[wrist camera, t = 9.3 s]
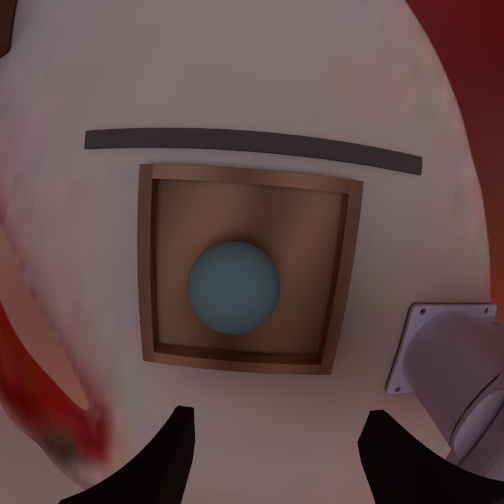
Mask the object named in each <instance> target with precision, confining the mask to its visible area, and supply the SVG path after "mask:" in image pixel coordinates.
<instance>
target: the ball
mask: <svg viewBox="0 0 504 504" xmlns="http://www.w3.org/2000/svg"><path fill="white" fill-rule="evenodd" d="M187 294H188V299H189V303H190V305H191V308H192V310H193V311H194V313H195V314H196V316H197V317H198V318H199V319H200V320H201V321H202V322H203V323H204V324H205V325H207V326H208V327H210V328H211V329H213V330H216V331H218V332H221V333H226V334H242V333H246V332H249V331H252V330H254V329H256V328H258V327H260V326H261V325H262V324H264V323H265V322H266V321H267V320H268V319H269V318H270V316H271V315H272V314H273V312H274V310H275V308H276V306H277V304H278V301H279V297H280V278H279V274H278V272H277V269H276V267H275V265H274V263H273V262H272V260H271V259H270V258H269V256H268V255H267V254H266V253H265V252H263V251H262V250H261V249H259V248H258V247H256V246H254V245H252V244H249V243H246V242H241V241H225V242H221V243H218V244H216V245H213V246H211V247H209V248H208V249H206V250H205V251H204V252H203V253H202V254H201V255H200V256H199V257H198V258H197V259H196V260H195V262H194V264H193V265H192V267H191V269H190V272H189V275H188V280H187Z"/></svg>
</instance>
